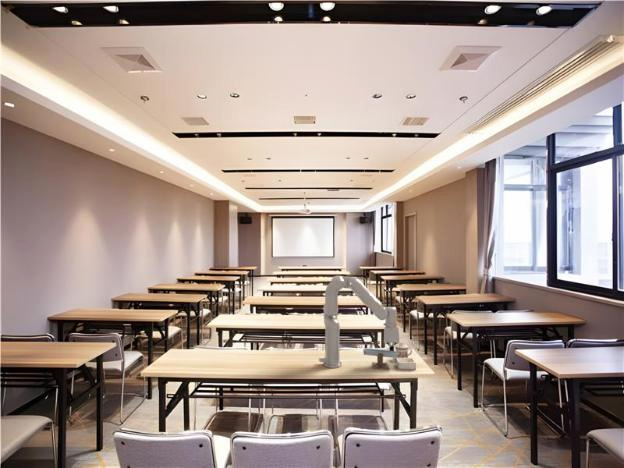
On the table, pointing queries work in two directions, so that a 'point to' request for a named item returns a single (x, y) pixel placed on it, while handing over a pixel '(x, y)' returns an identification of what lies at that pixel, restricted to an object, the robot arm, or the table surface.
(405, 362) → the white rectangular tray
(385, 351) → the lever
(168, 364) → the table surface
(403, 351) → the teacup with lid
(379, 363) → the stand
